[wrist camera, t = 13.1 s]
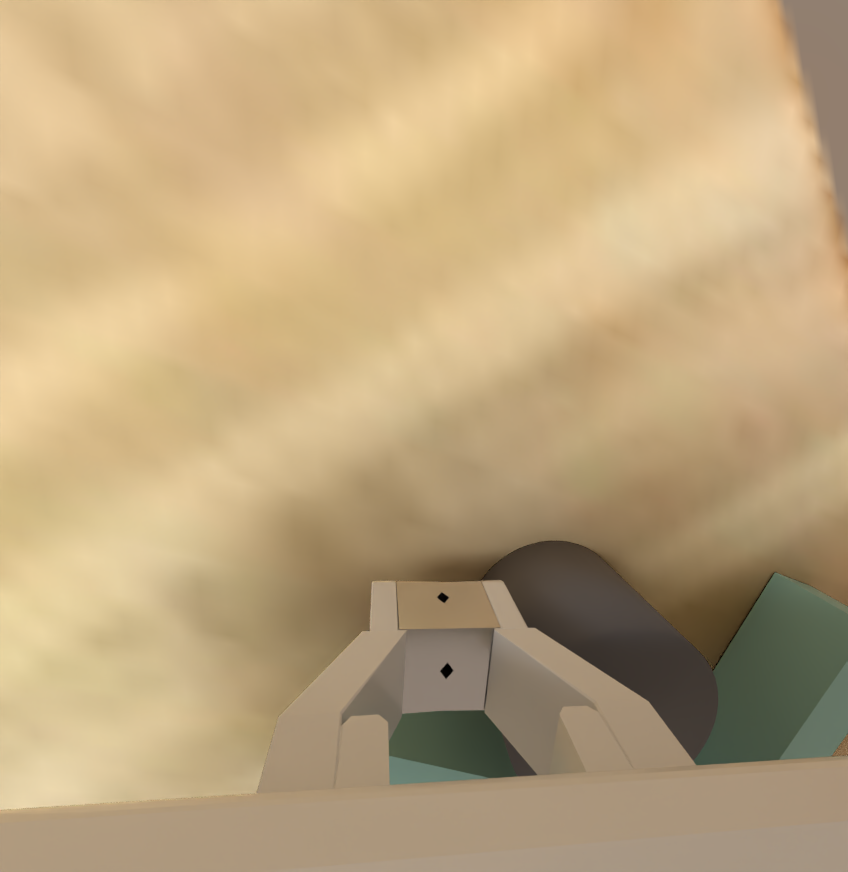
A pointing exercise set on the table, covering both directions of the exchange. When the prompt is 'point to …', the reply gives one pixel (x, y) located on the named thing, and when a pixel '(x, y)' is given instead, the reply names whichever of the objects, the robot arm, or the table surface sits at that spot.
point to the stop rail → (737, 698)
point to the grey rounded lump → (611, 635)
